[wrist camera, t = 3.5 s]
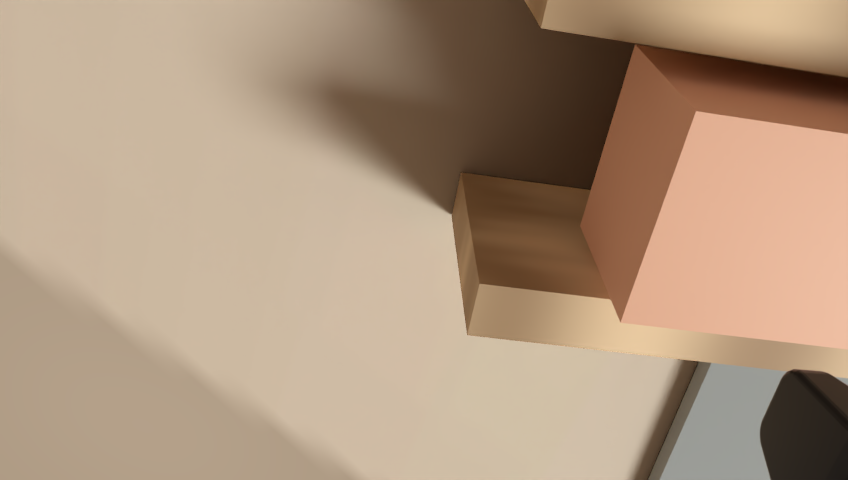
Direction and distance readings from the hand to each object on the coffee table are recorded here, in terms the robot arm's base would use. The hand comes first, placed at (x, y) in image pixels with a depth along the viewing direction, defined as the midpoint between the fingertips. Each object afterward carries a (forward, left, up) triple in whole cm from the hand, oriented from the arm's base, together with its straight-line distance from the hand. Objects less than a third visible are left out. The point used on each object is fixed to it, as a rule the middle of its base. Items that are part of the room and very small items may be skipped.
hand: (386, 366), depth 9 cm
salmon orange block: (-9, 0, -8) cm, 12 cm away
